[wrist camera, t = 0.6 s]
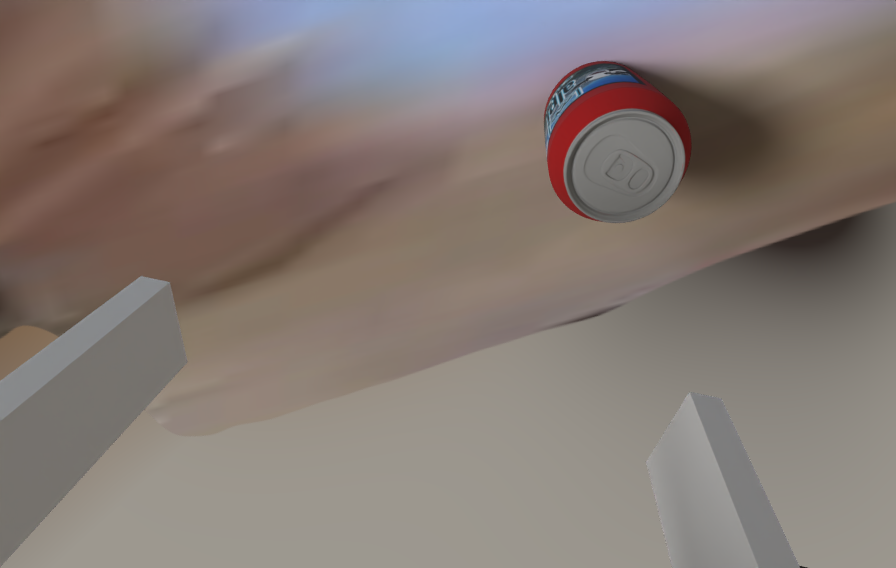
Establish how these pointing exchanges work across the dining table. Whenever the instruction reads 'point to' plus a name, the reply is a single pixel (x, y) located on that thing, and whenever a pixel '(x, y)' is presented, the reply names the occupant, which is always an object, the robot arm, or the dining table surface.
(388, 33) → the dining table surface
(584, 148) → the beverage can
